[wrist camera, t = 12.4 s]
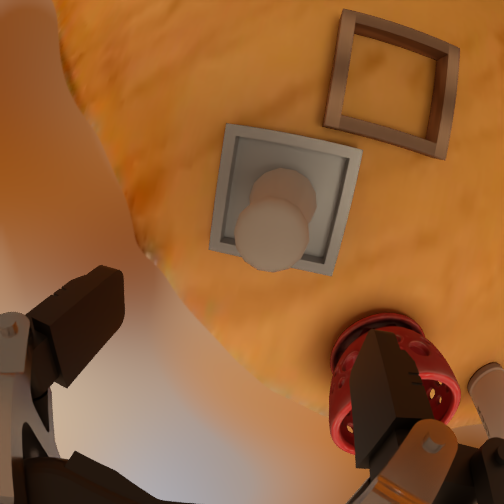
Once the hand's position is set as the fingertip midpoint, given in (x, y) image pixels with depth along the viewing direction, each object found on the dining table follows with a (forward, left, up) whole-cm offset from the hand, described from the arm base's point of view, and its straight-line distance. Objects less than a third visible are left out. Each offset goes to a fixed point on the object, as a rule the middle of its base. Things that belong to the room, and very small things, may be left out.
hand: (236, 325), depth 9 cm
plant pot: (+15, +15, -22) cm, 31 cm away
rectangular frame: (-13, +8, -22) cm, 27 cm away
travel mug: (+18, +35, -22) cm, 45 cm away
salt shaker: (0, 0, -21) cm, 21 cm away
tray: (0, 0, -22) cm, 22 cm away
